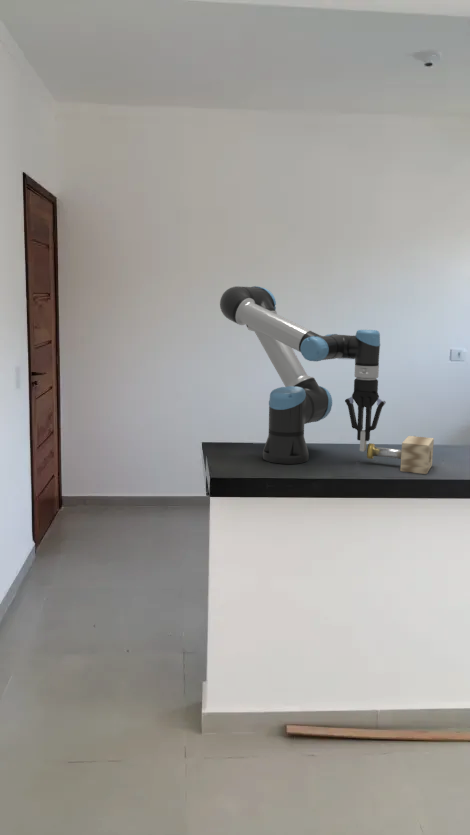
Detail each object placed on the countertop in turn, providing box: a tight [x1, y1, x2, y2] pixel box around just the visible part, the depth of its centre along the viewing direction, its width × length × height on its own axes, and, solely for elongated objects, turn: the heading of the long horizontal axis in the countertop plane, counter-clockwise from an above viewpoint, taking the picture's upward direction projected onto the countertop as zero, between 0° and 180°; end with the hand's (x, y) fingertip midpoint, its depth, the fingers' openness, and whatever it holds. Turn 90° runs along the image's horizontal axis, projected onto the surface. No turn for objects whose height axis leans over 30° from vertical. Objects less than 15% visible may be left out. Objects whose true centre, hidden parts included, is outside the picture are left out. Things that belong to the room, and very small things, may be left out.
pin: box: [366, 442, 402, 460], centre depth 223 cm, size 14×5×5 cm, turn 67°
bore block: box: [400, 435, 435, 475], centre depth 220 cm, size 8×12×9 cm, turn 157°
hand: (362, 450), depth 227 cm, fingers closed
